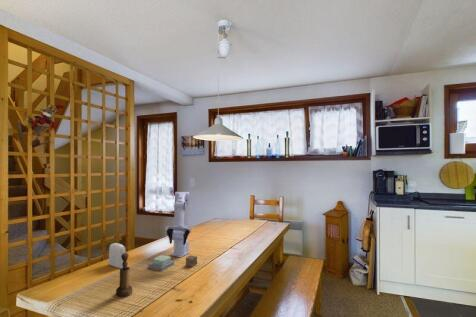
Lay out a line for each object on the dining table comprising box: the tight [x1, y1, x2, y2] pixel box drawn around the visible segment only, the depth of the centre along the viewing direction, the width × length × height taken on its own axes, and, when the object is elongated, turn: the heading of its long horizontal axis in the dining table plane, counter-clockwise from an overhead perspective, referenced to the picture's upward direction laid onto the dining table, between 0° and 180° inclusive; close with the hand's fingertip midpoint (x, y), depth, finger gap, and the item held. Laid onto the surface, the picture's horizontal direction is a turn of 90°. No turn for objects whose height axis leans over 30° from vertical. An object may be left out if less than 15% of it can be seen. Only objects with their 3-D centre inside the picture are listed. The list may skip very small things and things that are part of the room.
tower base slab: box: [147, 260, 175, 272], centre depth 146 cm, size 10×10×2 cm
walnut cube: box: [185, 254, 198, 268], centre depth 148 cm, size 4×4×4 cm
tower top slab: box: [152, 254, 172, 266], centre depth 146 cm, size 7×7×2 cm
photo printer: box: [108, 242, 126, 269], centre depth 145 cm, size 10×4×12 cm, turn 60°
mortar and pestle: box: [115, 252, 133, 298], centre depth 115 cm, size 7×6×18 cm
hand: (177, 243), depth 144 cm, fingers open, 7 cm apart
